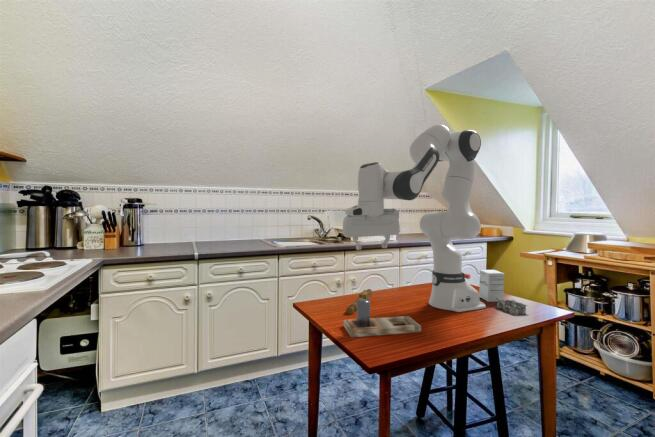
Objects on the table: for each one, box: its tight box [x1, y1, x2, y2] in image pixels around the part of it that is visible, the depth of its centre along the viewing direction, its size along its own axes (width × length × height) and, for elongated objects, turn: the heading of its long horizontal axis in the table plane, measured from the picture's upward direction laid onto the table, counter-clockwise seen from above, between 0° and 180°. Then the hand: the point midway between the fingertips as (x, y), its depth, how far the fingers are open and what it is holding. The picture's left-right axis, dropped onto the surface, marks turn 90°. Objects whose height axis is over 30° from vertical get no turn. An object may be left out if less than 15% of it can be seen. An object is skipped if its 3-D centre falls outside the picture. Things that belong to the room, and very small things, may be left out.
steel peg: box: [356, 298, 371, 328], centre depth 114 cm, size 4×4×10 cm
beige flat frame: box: [343, 315, 422, 338], centre depth 115 cm, size 24×10×2 cm, turn 101°
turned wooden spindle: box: [345, 288, 373, 315], centre depth 144 cm, size 3×3×30 cm
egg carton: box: [496, 298, 528, 315], centre depth 136 cm, size 11×8×4 cm
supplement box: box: [478, 269, 505, 303], centre depth 150 cm, size 7×7×13 cm
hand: (371, 248), depth 119 cm, fingers open, 8 cm apart
